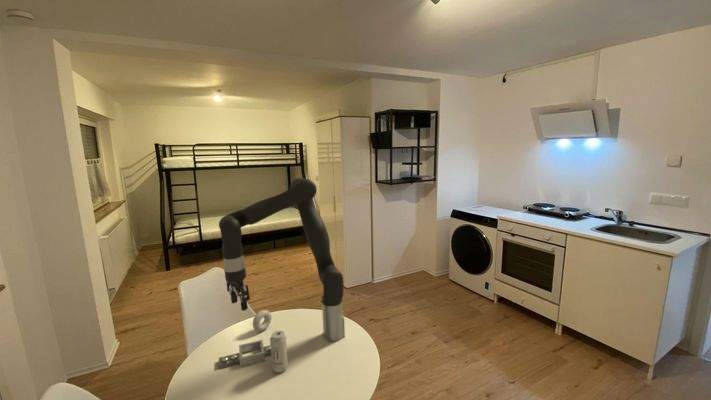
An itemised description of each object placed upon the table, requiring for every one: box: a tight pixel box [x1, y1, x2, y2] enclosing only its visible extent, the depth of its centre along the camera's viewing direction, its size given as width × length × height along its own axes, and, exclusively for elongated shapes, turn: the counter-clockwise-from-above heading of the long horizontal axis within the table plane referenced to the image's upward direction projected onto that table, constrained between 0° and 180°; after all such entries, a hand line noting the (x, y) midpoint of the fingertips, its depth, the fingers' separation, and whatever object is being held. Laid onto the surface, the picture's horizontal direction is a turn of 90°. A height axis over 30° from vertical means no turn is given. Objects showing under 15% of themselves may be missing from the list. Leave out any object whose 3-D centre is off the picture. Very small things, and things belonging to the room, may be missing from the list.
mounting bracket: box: [218, 339, 271, 370], centre depth 129 cm, size 26×10×4 cm, turn 112°
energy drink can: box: [269, 330, 289, 374], centre depth 121 cm, size 6×6×15 cm
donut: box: [252, 309, 272, 332], centre depth 147 cm, size 10×4×10 cm, turn 144°
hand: (239, 306), depth 120 cm, fingers open, 8 cm apart
